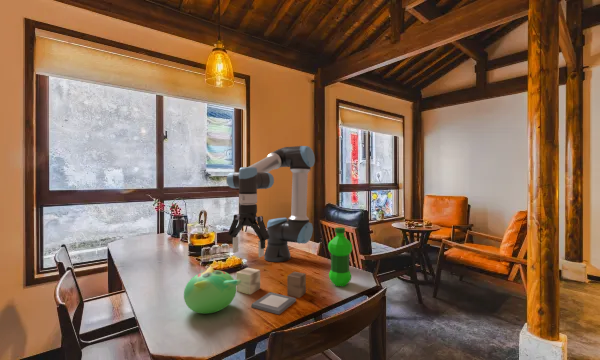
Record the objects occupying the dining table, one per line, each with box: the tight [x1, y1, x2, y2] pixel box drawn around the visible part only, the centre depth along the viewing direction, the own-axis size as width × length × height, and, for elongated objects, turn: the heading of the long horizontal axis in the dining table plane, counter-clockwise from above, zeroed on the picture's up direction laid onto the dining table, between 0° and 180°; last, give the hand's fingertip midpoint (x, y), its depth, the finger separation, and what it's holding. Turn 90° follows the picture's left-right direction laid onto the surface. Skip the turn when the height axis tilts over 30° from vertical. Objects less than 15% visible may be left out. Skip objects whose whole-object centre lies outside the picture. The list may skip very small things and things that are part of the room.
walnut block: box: [286, 271, 307, 299], centre depth 117 cm, size 6×6×8 cm
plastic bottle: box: [327, 226, 353, 287], centre depth 127 cm, size 10×10×25 cm
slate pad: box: [251, 291, 297, 315], centre depth 108 cm, size 12×12×1 cm
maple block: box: [236, 267, 261, 295], centre depth 121 cm, size 7×7×8 cm
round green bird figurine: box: [183, 266, 241, 315], centre depth 103 cm, size 18×17×15 cm
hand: (248, 254), depth 121 cm, fingers open, 13 cm apart
